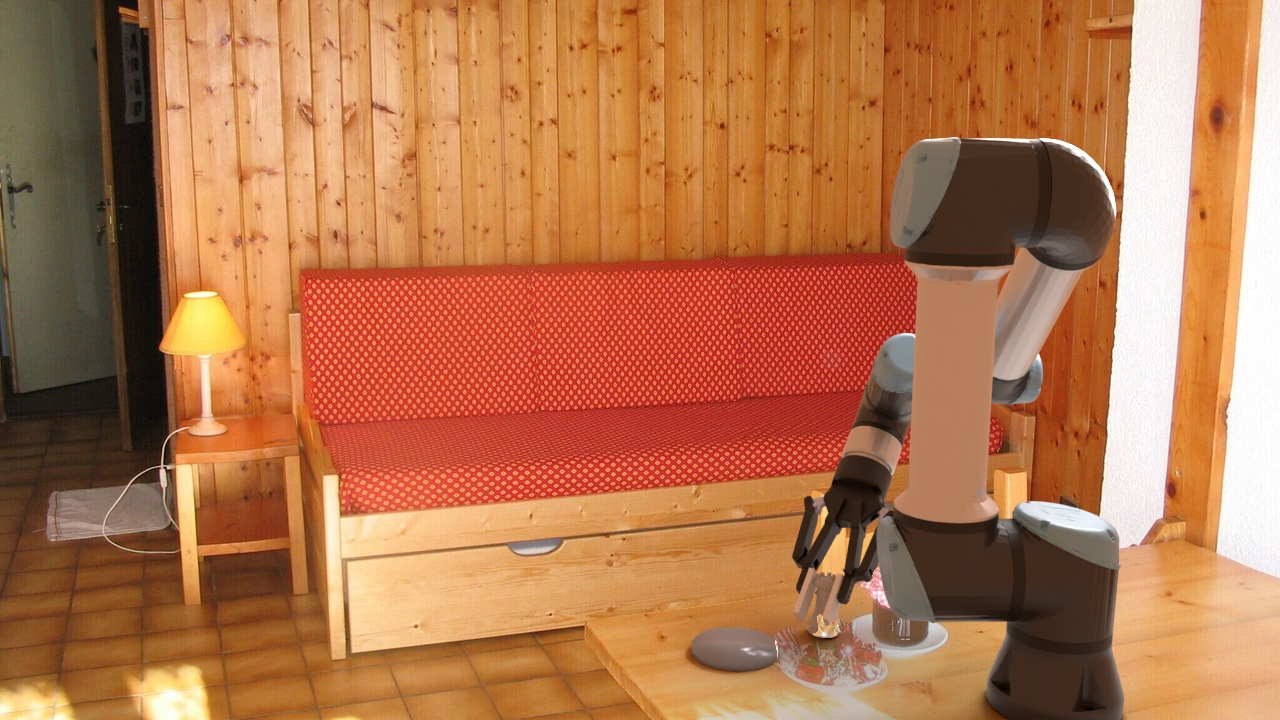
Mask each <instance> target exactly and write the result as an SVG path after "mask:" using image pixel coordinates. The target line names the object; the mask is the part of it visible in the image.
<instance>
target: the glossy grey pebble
mask: <svg viewBox="0 0 1280 720" xmlns="http://www.w3.org/2000/svg"><path fill="white" fill-rule="evenodd" d="M775 639H776V638H775V637H773V636H772V635H770V634H769V633H766V632H764V631H762V630H757V629H753V628H748V627H740V626H723V627H715V628H710V629H707V630H703V631H701V632H699V633H697V634H696V635H694V637H693V638H692V640H691V654H692V658H694V659H695V660H696V661H697V662H698V663H700V664H702V665H704V666H706V667H708V668H713V669H716V670H722V671H726V672H727V671H729V672H748V671H749V672H751V671H757V670H760V669H764V668H767V667H769V666H771V665H773V664H775V663H776V661H777V660H778V659H777V650H776V646H775ZM776 659H777V660H776ZM775 660H776V661H775Z"/></svg>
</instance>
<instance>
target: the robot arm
mask: <svg viewBox="0 0 1280 720" xmlns="http://www.w3.org/2000/svg"><path fill="white" fill-rule="evenodd" d="M897 171H898V172H897V175H896V179H895V183H894V188H893V191H892V198H891V204H890V213H889V222H890V224H889V225H890V228H889V235H890V239H891V242H892V244H893V245H894V246H895V247H898V248H899V249H904V264H905V265H906V266H907V267H908V268H909V269H910V271H911V272H912V273H913V274H914V275H915V277H916V279H917V291H916V308H915V309H916V310H915V327H914V328H915V329H914V330H915V331H914V332H915V333H908V332H907V333H905V332H904V333H899V334H895V335H893V336H890V337H889V338H888V339H887V340H885V342H884V343H883V344H882V346H881V347H880V348H879V350H878V352H877V354H876V356H875V358H874V360H873V363H872V368H871V372H870V375H869V378H868V380H867V382H866V385H865V386H864V390H863V394H862V397H861V401H860V403H859V406H858V409H857V412H856V415H855V418H854V421H853V424H852V427H851V428H850V431H849V434H848V436H847V439H846V442H845V444H844V447H843V449H842V453H841V458H840V459H839V462H838V463H837V467H836V469H835V472H834V475H833V477H832V480H831V484H830V487H829V489H828V490H827V491H826V492H825V493H824V494H823V496H820V497H815V498H813V497H812V496H811V495H807V496H805V497H804V499H803V506H804V514H803V516H802V519H801V522H800V527H799V531H798V534H797V538H796V541H795V544H794V548H793V552H792V555H791V558H792V560H793V561H794V563H795V565H796V567H797V568H798V569H801V572H800V573H799V577H798V579H797V582H796V585H795V590H796V592H797V593H798V597H797V600H796V603H795V606H794V609H793V614H794V616H796V618H797V620H798V621H799V622H800V623H801V622H802V623H805V621H806V618H807V615H808V612H809V610H810V608H811V604H812V601H813V598H814V596H815V592H816V591H817V587H816V586H815V584H814V580H815V579H816V578H817V574H818V570H819V568H820V567H821V564H822V563H823V561H824V559H825V557H826V556H827V554H828V552H829V550H830V548H831V546H832V544H833V543H834V541H835V539H836V537H837V536H839V535H840V534H841V532H842V529H848V528H849V530H850V532H849V533H850V534H849V537H848V543H847V545H848V546H847V550H846V556H845V564H844V568H842V571H843V573H844V574H842V573H837V574H836V578H835V581H834V584H833V587H832V590H831V593H830V596H829V599H828V601H827V604H826V607H825V610H824V613H823V620H824V623H825V625H826V626H828V625H830V623H831V622H832V621H833V620H836V617H837V615H838V614H839V611H840V608H841V605H847V604H848V603H849V602H850V600H851V596H852V593H853V591H854V588H855V585H856V584H857V583H858V582H864V583H869V582H871V581H872V580H873V577H872V575H873V572H874V570H875V569H877V567H878V566H879V573H880V577H881V578H880V580H881V583H882V588H883V591H884V595H885V599H886V601H887V604H888V607H889V608H890V610H891V611H892V613H893V614H894V615H895V616H897V618H899V619H901V620H905V621H914V622H915V621H917V622H929V623H930V624H936V623H946V622H947V623H972V622H973V623H976V622H977V623H987V622H989V623H991V622H992V623H1003V622H1005V623H1006V627H1005V629H1006V630H1005V636H1004V638H1003V639H1002V642H1001V646H1000V647H999V650H998V652H997V654H996V656H995V659H994V660H993V664H992V666H991V668H990V670H989V673H988V677H987V684H986V700H987V702H988V703H989V705H990V707H992V708H993V709H994V710H995V711H996V712H998V713H999V714H1000V715H1002V716H1004V717H1005V718H1007V719H1009V720H1122V719H1123V717H1124V707H1125V694H1124V690H1123V685H1122V682H1121V679H1120V675H1119V671H1118V670H1119V669H1118V666H1117V664H1116V658H1115V655H1114V652H1113V637H1114V627H1115V626H1114V624H1115V617H1116V616H1115V614H1116V613H1115V612H1116V603H1117V595H1118V594H1117V593H1118V592H1117V591H1118V583H1119V582H1118V581H1119V571H1120V569H1121V563H1120V535H1119V532H1118V531H1117V529H1116V528H1115V527H1114V525H1112V524H1111V523H1110V522H1109V521H1108V520H1106V519H1105V518H1103V517H1101V516H1099V515H1097V514H1095V513H1092V512H1089V511H1087V510H1084V509H1080V508H1077V507H1073V506H1070V505H1066V504H1061V503H1056V502H1049V501H1048V502H1047V501H1040V500H1039V501H1035V500H1029V501H1028V500H1027V501H1026V502H1023V501H1022V502H1019V503H1017V504H1016V505H1015V506H1014V509H1013V510H1012V511H1011V516H1012V518H1011V517H1010V518H999V517H1000V509H999V508H1000V507H999V505H998V504H997V503H996V502H995V501H994V499H992V498H991V497H990V495H988V493H987V482H988V466H989V465H988V463H989V451H990V450H989V447H990V446H989V445H990V434H991V433H990V432H991V431H990V430H991V429H990V428H991V414H992V413H991V412H992V410H991V409H992V405H993V404H995V405H1005V406H1012V405H1014V404H1015V405H1016V404H1030V403H1032V402H1034V401H1036V400H1037V399H1038V397H1039V396H1040V394H1041V391H1042V385H1043V380H1044V369H1043V368H1044V367H1043V361H1042V358H1041V356H1040V352H1041V350H1042V348H1043V346H1044V344H1045V342H1046V341H1047V340H1048V337H1049V335H1050V333H1051V331H1052V330H1053V329H1054V328H1053V327H1054V326H1055V324H1056V322H1057V320H1058V318H1059V317H1060V314H1061V313H1062V311H1063V309H1064V307H1065V306H1066V304H1067V303H1068V301H1069V298H1070V297H1071V295H1072V293H1073V291H1074V289H1075V288H1076V285H1077V283H1078V282H1079V280H1080V279H1081V278H1080V277H1081V276H1082V275H1083V272H1084V271H1085V270H1089V269H1090V268H1093V266H1095V265H1096V264H1097V263H1098V262H1099V261H1100V260H1101V258H1102V257H1103V255H1104V254H1105V252H1106V250H1107V249H1108V247H1109V244H1110V243H1111V240H1112V237H1113V234H1114V231H1115V227H1116V226H1115V225H1116V221H1117V220H1116V216H1117V208H1116V207H1117V206H1116V202H1115V195H1114V191H1113V189H1112V186H1111V185H1110V182H1109V179H1108V178H1107V176H1106V174H1105V172H1104V171H1103V170H1102V168H1101V167H1100V166H1099V165H1098V164H1097V163H1096V162H1095V160H1094V159H1093V158H1092V157H1091V156H1089V155H1088V154H1087V153H1086V152H1085V151H1083V150H1082V149H1080V148H1078V147H1076V146H1075V145H1073V144H1070V143H1068V142H1065V141H1062V140H1059V139H1051V138H1035V139H1033V138H1032V139H1031V138H1030V139H1029V138H1028V139H1026V138H970V137H967V138H965V137H957V136H952V137H945V138H932V139H931V138H930V139H923V140H922V139H921V140H918V141H916V142H915V143H913V145H911V146H910V147H909V149H908V150H907V151H906V153H905V154H904V156H903V158H902V161H901V163H900V166H899V169H898V170H897ZM1017 248H1018V249H1019V250H1018V253H1017V254H1016V253H1015V252H1016V249H1017ZM1007 273H1008V274H1007ZM1006 274H1007V277H1006V279H1005V281H1004V283H1003V286H1002V288H1001V291H1000V293H999V291H998V289H999V283H1000V280H1001V279H1002V278H1003V277H1004V276H1005V275H1006ZM998 293H999V295H998ZM909 430H910V437H909V438H910V439H909V456H908V478H907V479H908V480H907V486H906V488H905V489H904V490H903V491H902V492H901V493H900V494H899V495H897V496H896V497H895V498H894V500H893V507H892V508H893V509H892V510H891V509H890V510H889V509H887V508H886V507H885V499H886V497H887V495H888V492H889V489H890V485H891V483H892V480H893V477H892V476H893V475H894V473H895V471H896V469H897V468H896V467H897V465H898V462H899V459H900V457H901V453H902V450H903V447H904V442H905V441H906V437H907V434H908V431H909ZM824 508H826V510H827V515H826V517H825V518H824V524H823V526H822V527H821V529H820V531H819V533H818V534H817V536H816V538H815V540H814V542H813V539H814V535H815V533H816V528H817V526H818V521H819V516H820V515H821V514H822V512H823V509H824ZM877 519H878V522H877V525H876V527H875V529H874V532H873V534H872V536H871V539H870V541H869V544H868V545H867V548H866V550H865V552H864V555H863V558H862V553H863V549H864V547H863V545H864V540H865V539H866V535H867V528H868V526H869V525H871V524H872V523H873V522H874V521H875V520H877ZM875 571H876V570H875ZM874 573H875V572H874ZM873 576H874V575H873ZM1122 716H1123V717H1122Z"/></svg>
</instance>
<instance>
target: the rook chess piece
mask: <svg viewBox="0 0 1280 720" xmlns="http://www.w3.org/2000/svg"><path fill="white" fill-rule="evenodd" d="M836 576H837V574H832V572H827V574H826V575H825V572H820V573H817V578H816V579H815V580H814V584H815V586H816V587H817V588H816V590H815V593H814V595H815V599H816V600H815V604H814V610H813V612H812V613H811V617H809V619H808V621H807V623H808V625H809V626H808V627H807V631H808V633H809V635H811V634H813V633H816V632H817V631H818V623H817V616H818V615H819V614H821V615H822V616H823V613H824V610H825V607H826V604H827V601H828V599H829V596H830V593H831V590H832V587H833V584H834V581H835V578H836ZM836 621H837V622H838V625H839V626H840V625H841V626H842V624H841V619H839V615H838V614H837V617H836ZM841 626H840V627H841Z"/></svg>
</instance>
